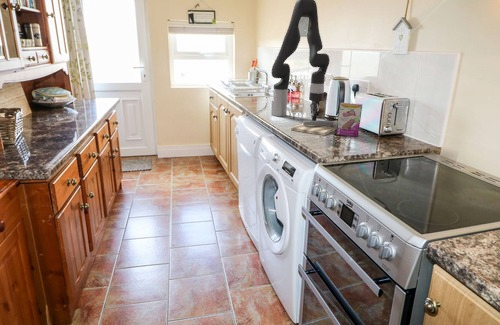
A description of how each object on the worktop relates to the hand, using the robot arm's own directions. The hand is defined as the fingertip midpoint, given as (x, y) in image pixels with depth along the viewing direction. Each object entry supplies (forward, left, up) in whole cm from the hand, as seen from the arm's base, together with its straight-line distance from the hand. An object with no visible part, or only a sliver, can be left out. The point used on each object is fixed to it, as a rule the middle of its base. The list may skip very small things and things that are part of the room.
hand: (313, 122), depth 193 cm
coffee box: (-11, +32, -3) cm, 34 cm away
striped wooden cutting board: (+3, -2, -3) cm, 4 cm away
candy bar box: (+22, -6, -3) cm, 22 cm away
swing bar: (+4, -1, -1) cm, 4 cm away
